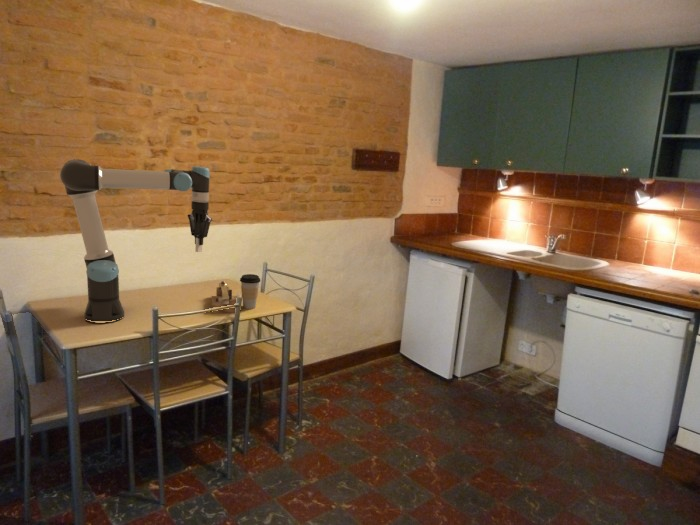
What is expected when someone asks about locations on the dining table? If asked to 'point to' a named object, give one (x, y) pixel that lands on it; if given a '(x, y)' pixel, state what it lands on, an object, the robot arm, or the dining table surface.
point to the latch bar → (223, 289)
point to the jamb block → (218, 291)
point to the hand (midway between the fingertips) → (198, 251)
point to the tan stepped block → (223, 303)
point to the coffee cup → (249, 290)
